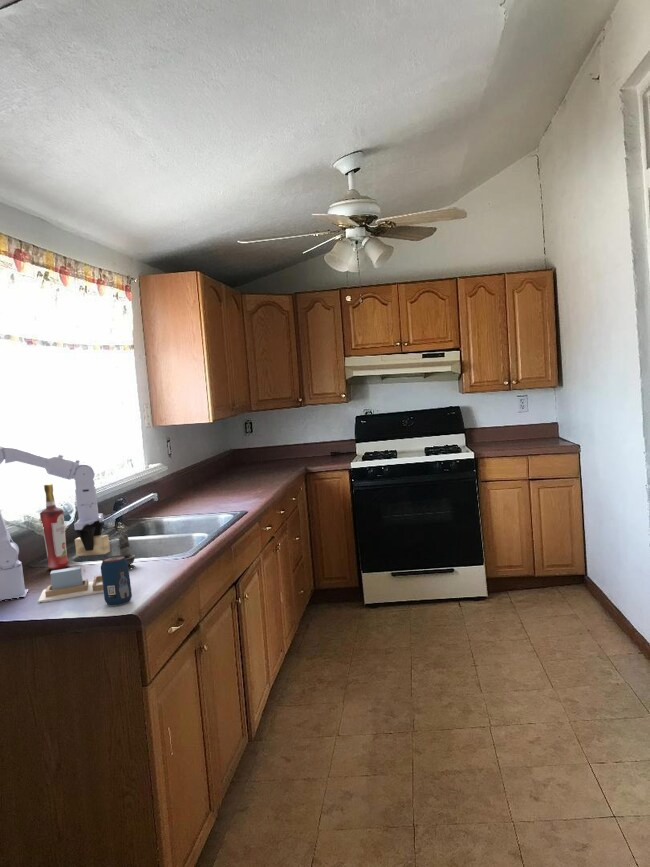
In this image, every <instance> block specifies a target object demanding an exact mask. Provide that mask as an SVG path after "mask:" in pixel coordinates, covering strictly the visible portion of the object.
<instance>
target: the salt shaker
mask: <svg viewBox="0 0 650 867" xmlns="http://www.w3.org/2000/svg"><path fill="white" fill-rule="evenodd" d="M118 541H119V542H118V544H119V545H118V547H119V552H120V553H119V555H122V556H125V559H126V561H127V562H128V568H129V570H132V569H131V568H133V569H135V568H136V565H134V564H133V563H134V561H135V557H136V555H135V554H132V552H131V549H130V545H131V544H130V543H129V536H128V534H127V533H125V532H124V530H122V531H121V533H120V534H119V535H118ZM134 567H135V568H134Z"/></svg>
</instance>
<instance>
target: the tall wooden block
mask: <svg viewBox="0 0 650 867" xmlns="http://www.w3.org/2000/svg"><path fill="white" fill-rule="evenodd" d="M109 539H110V538H109V534H101V535H98V536H94V538H93V541H94V547H93V550H90V551H86V550H85V547H84V545H83V542H82V540H81V538H80V537H77V538H75V539H74V545H75V555H76V556H77V557H79V556H80V557H81V556H96V555H106V554H107V553H109V552H111V545H110V540H109Z"/></svg>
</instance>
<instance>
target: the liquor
mask: <svg viewBox="0 0 650 867" xmlns="http://www.w3.org/2000/svg"><path fill="white" fill-rule="evenodd" d="M43 487H44V488H43V489H44V493H45V507H46V508H45V509H44V510H42V511H41V512H40V513H39V516H40V522H41V521H42V523H43V527H44V534H43V538H44V543H45V550H46V557H47V562H48V564H47V566H46V567H48V568H49V569H50V570H51V571H54V570H60V569H66V567H67V566H68V565H69V563H70V561H69V560H68V551H67V540H66V525H65V514H64V509H63V508H61V507H57V505H56V502H55V498H54V486H53V483H48V484H44V485H43ZM42 523H41V524H42Z"/></svg>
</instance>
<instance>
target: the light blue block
mask: <svg viewBox="0 0 650 867" xmlns="http://www.w3.org/2000/svg"><path fill="white" fill-rule="evenodd" d="M49 574H50V575H49V576H50V582H51V585H52V590H55V589H61V588H68V587H74V586H80V585H83V580H84V579H83V573H82V567H81V566H80V565H79V566H74V567H68V568H63V569H59V570H51V571H50V573H49Z"/></svg>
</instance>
